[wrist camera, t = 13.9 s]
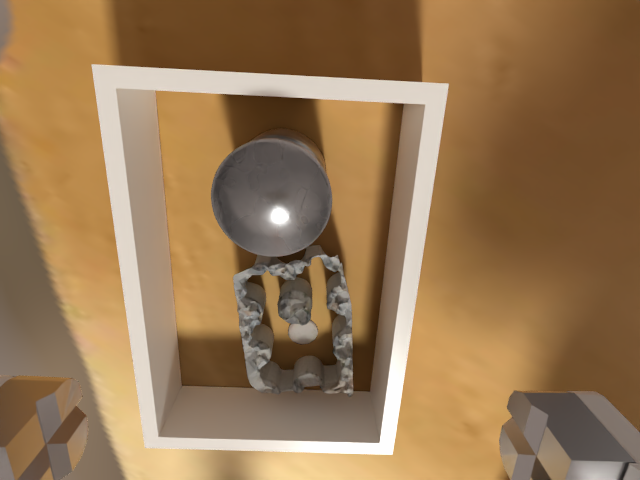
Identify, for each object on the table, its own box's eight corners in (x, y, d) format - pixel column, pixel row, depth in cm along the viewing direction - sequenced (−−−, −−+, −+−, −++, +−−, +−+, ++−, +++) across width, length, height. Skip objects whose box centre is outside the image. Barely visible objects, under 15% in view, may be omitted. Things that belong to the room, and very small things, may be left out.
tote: (381, 401, 32) (392, 454, 27) (170, 395, 32) (144, 447, 27) (422, 85, 24) (448, 83, 19) (136, 69, 23) (91, 64, 19)
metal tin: (323, 219, 27) (326, 260, 20) (237, 212, 26) (212, 252, 20) (331, 130, 25) (337, 144, 18) (238, 122, 24) (210, 133, 18)
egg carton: (351, 365, 31) (357, 403, 27) (257, 371, 31) (249, 410, 28) (346, 239, 28) (351, 263, 24) (238, 246, 28) (226, 272, 24)
